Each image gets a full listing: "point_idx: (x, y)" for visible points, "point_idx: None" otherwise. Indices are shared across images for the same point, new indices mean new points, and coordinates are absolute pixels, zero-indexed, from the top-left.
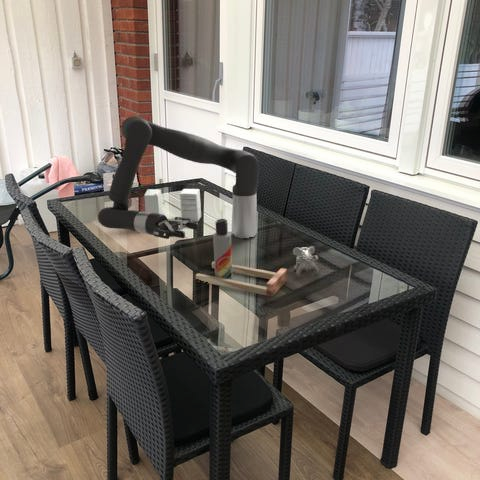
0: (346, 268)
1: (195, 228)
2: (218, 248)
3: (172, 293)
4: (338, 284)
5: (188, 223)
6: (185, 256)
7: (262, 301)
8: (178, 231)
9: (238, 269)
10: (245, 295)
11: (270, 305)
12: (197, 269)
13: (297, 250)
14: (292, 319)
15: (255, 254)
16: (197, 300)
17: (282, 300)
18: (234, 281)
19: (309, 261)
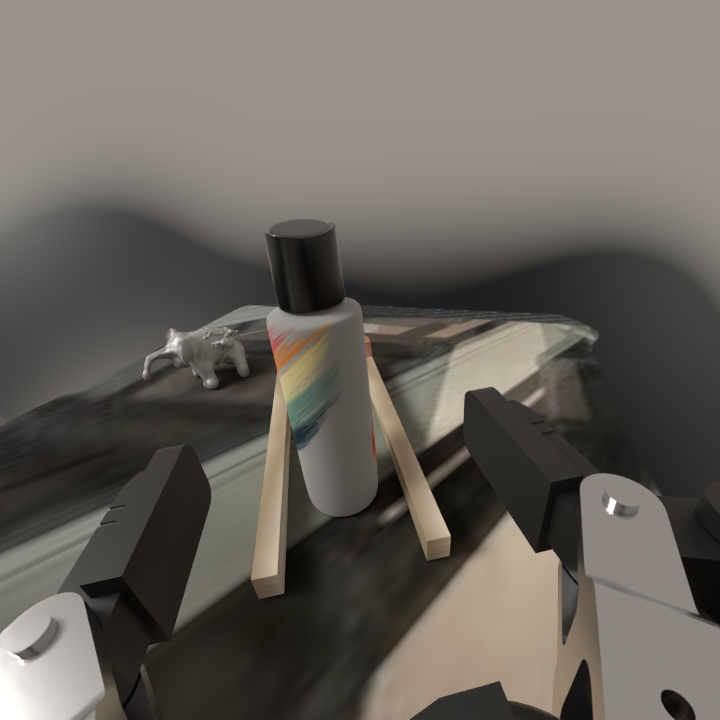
0: None
1: (200, 507)
2: (366, 357)
3: None
4: (264, 336)
5: (135, 580)
6: None
7: (401, 363)
8: (526, 426)
9: (286, 457)
10: (404, 390)
11: (403, 352)
12: (339, 665)
13: (189, 343)
14: (416, 325)
15: (81, 521)
16: None
17: (371, 350)
18: (385, 408)
19: (236, 330)
